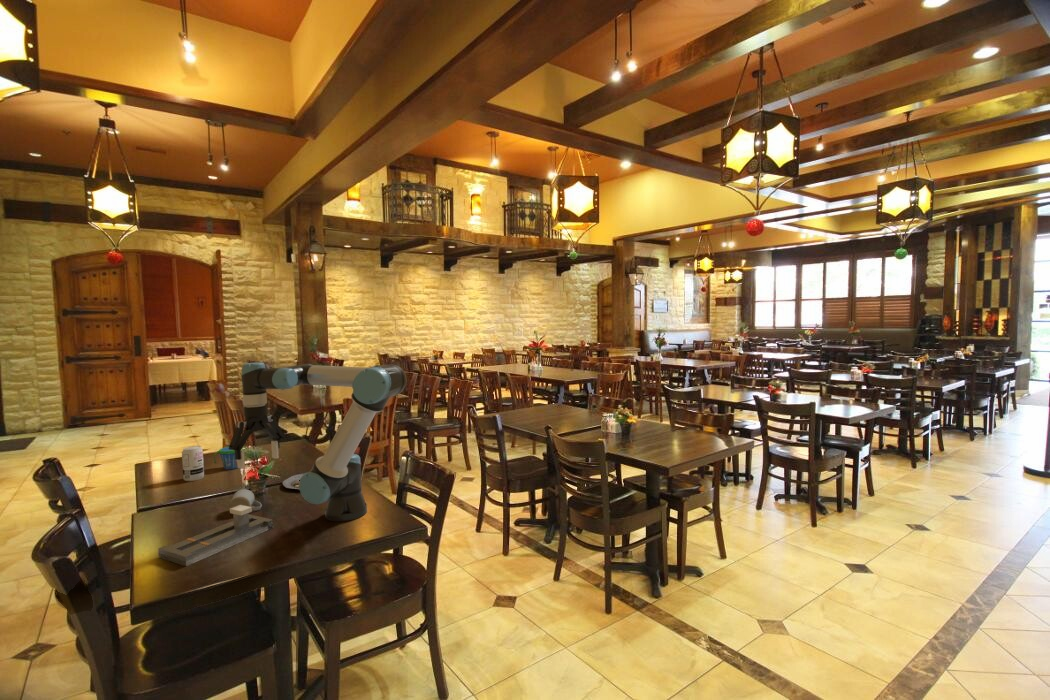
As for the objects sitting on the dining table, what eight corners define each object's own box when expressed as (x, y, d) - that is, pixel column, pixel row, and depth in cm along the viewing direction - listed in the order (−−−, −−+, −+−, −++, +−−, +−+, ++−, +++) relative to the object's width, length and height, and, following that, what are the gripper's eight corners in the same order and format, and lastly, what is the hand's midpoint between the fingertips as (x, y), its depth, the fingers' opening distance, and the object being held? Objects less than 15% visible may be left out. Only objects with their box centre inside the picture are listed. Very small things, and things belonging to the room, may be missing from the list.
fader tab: (241, 523, 177) (240, 504, 176) (252, 526, 174) (251, 507, 174) (230, 528, 173) (229, 508, 173) (242, 531, 170) (241, 511, 170)
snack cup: (212, 472, 244) (211, 452, 243) (216, 466, 254) (215, 447, 253) (248, 468, 250) (247, 448, 249) (251, 463, 260) (250, 444, 259)
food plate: (334, 470, 243) (333, 463, 243) (348, 483, 225) (348, 476, 224) (278, 482, 228) (277, 475, 228) (289, 497, 210) (288, 489, 209)
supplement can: (186, 477, 237) (185, 446, 236) (206, 475, 240) (204, 445, 239) (180, 482, 229) (178, 450, 228) (201, 480, 232) (199, 449, 231)
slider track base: (247, 521, 183) (246, 513, 183) (273, 527, 177) (272, 519, 177) (158, 557, 156) (158, 548, 156) (186, 566, 150) (185, 556, 150)
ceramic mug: (228, 516, 188) (228, 496, 188) (233, 508, 196) (232, 489, 195) (260, 512, 192) (259, 493, 191) (263, 505, 200) (262, 486, 199)
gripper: (278, 399, 191) (281, 453, 193) (214, 410, 169) (218, 471, 170) (292, 400, 188) (295, 455, 190) (228, 412, 166) (232, 474, 167)
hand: (258, 463), depth 180 cm, fingers open, 13 cm apart
